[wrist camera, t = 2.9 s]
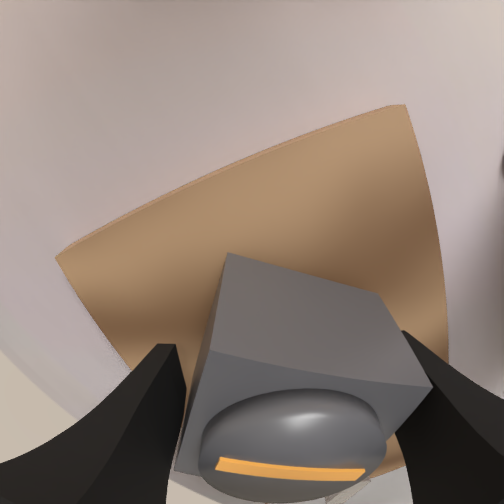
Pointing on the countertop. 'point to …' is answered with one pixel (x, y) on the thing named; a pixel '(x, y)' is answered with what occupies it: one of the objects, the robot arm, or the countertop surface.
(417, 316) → the parts board
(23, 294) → the countertop surface
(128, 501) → the robot arm
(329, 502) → the speckled beige tile
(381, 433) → the knob
